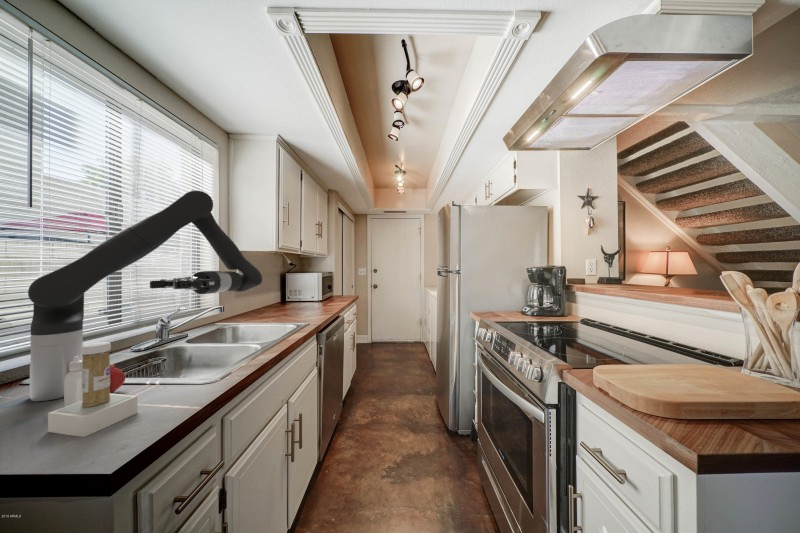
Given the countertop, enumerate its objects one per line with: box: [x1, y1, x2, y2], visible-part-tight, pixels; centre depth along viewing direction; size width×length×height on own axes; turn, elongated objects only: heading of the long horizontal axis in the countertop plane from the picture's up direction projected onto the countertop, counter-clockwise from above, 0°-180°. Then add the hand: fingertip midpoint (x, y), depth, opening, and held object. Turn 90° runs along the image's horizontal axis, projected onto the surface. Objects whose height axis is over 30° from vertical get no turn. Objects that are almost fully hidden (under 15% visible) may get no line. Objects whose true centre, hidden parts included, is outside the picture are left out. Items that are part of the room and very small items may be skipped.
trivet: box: [47, 393, 139, 438], centre depth 64 cm, size 10×10×4 cm
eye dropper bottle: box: [63, 356, 83, 407], centre depth 73 cm, size 4×6×12 cm
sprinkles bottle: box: [81, 341, 112, 407], centre depth 64 cm, size 5×5×14 cm
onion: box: [110, 363, 126, 394], centre depth 79 cm, size 6×6×8 cm
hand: (163, 284), depth 79 cm, fingers open, 8 cm apart
